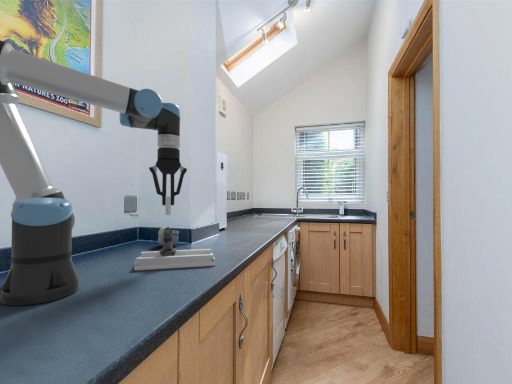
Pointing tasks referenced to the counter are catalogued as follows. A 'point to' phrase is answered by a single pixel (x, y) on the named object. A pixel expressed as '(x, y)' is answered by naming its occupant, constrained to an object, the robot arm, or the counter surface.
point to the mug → (161, 236)
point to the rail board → (175, 259)
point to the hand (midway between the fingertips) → (168, 214)
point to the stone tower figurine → (167, 244)
